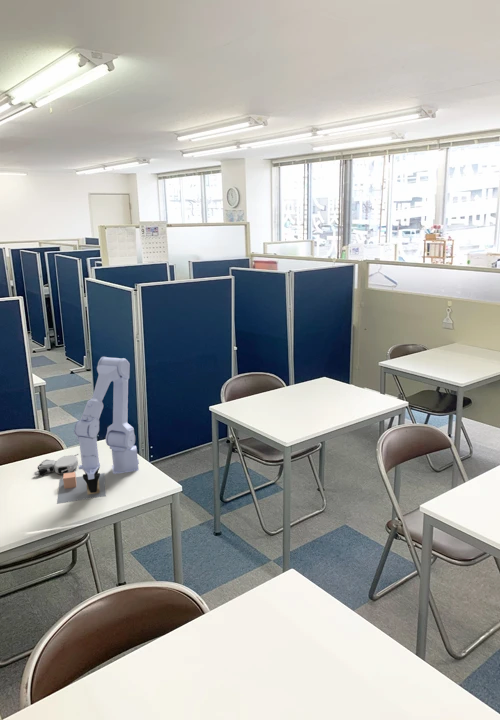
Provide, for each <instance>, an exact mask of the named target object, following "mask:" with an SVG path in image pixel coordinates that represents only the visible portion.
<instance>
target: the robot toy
mask: <svg viewBox="0 0 500 720" xmlns="http://www.w3.org/2000/svg"><path fill="white" fill-rule="evenodd" d="M79 455H80V453H77V454H71V455H64V456H61V457H59V458H58V459H57V460H54V459H45V460H43V461H41V463H39V465H37V470H38V471H35V472H34V475H35V476H38V475H39V476H42V475H45V474H47V473H54V472H55V473H56V474H59V475H60V474H63V475H64V474H65V473H72V472H74V470H75V469H76V468H77V467H78V466H79V460H78V457H77V456H79Z"/></svg>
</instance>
